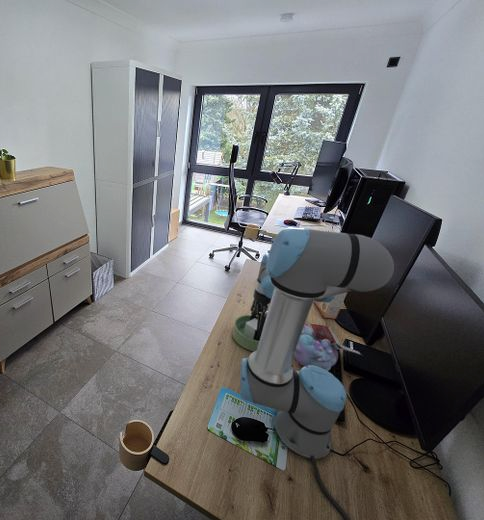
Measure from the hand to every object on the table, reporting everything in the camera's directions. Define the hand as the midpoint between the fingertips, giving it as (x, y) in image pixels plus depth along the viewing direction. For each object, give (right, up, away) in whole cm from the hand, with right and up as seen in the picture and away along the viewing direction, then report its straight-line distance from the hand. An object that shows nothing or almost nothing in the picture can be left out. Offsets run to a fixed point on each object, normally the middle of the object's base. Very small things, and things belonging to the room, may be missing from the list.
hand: (253, 334), depth 124 cm
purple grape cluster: (+21, -7, -8) cm, 23 cm away
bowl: (0, -2, +1) cm, 2 cm away
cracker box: (+43, +7, +20) cm, 48 cm away
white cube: (0, 0, 0) cm, 0 cm away
